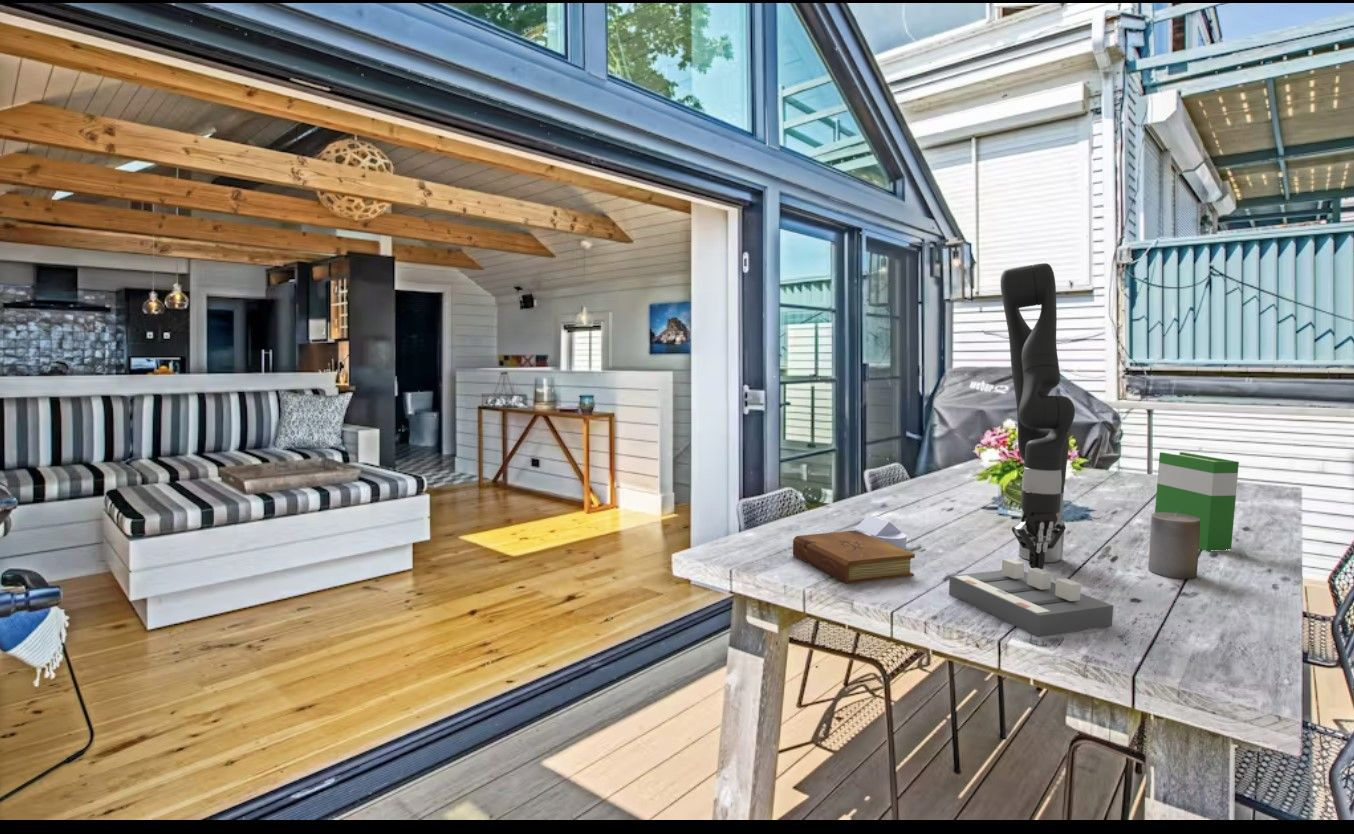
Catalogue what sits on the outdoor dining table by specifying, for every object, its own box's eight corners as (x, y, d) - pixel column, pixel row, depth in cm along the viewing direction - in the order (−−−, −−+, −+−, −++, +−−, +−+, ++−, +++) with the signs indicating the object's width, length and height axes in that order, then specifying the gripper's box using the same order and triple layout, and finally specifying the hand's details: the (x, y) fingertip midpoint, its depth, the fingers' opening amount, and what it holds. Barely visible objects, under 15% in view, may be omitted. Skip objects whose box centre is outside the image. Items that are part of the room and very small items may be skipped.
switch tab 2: (1036, 582, 148) (1037, 567, 148) (1050, 588, 145) (1051, 573, 144) (1027, 584, 147) (1028, 568, 147) (1041, 589, 144) (1042, 574, 144)
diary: (792, 558, 181) (793, 536, 180) (855, 552, 188) (855, 530, 187) (845, 586, 160) (846, 560, 159) (913, 577, 166) (914, 553, 166)
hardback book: (1153, 534, 208) (1159, 452, 206) (1175, 533, 209) (1182, 452, 207) (1206, 551, 191) (1214, 462, 188) (1230, 550, 192) (1238, 461, 189)
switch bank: (1015, 586, 160) (1016, 567, 159) (1111, 625, 137) (1113, 604, 137) (948, 594, 154) (949, 575, 154) (1038, 636, 131) (1039, 614, 131)
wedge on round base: (854, 540, 197) (886, 552, 185) (855, 516, 196) (887, 527, 185) (880, 537, 201) (913, 549, 189) (881, 513, 200) (914, 524, 188)
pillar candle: (1194, 571, 173) (1198, 509, 172) (1199, 581, 164) (1203, 517, 163) (1146, 565, 178) (1150, 505, 177) (1148, 575, 169) (1152, 512, 168)
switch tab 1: (1010, 572, 155) (1011, 558, 154) (1023, 577, 151) (1024, 563, 151) (1001, 573, 154) (1002, 559, 154) (1014, 578, 151) (1015, 564, 150)
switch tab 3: (1064, 593, 142) (1065, 578, 141) (1080, 600, 138) (1081, 583, 138) (1055, 595, 141) (1056, 579, 141) (1070, 601, 137) (1071, 585, 137)
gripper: (1050, 484, 159) (1045, 561, 160) (1003, 487, 154) (998, 566, 156) (1079, 490, 152) (1074, 571, 153) (1030, 494, 147) (1025, 576, 149)
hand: (1036, 568), depth 155 cm, fingers closed
